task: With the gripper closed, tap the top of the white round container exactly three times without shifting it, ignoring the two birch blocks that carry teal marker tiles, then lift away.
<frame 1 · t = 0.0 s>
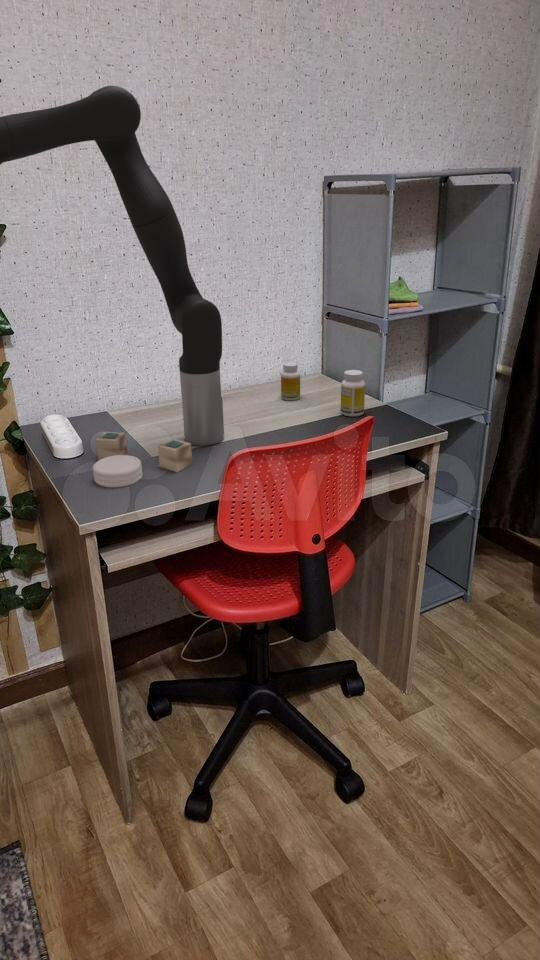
supplement bottle: (290, 398, 189), on the table
white round container: (118, 479, 142), on the table
pill bottle: (352, 413, 176), on the table
marked block b: (176, 466, 147), on the table
marked block a: (113, 456, 152), on the table
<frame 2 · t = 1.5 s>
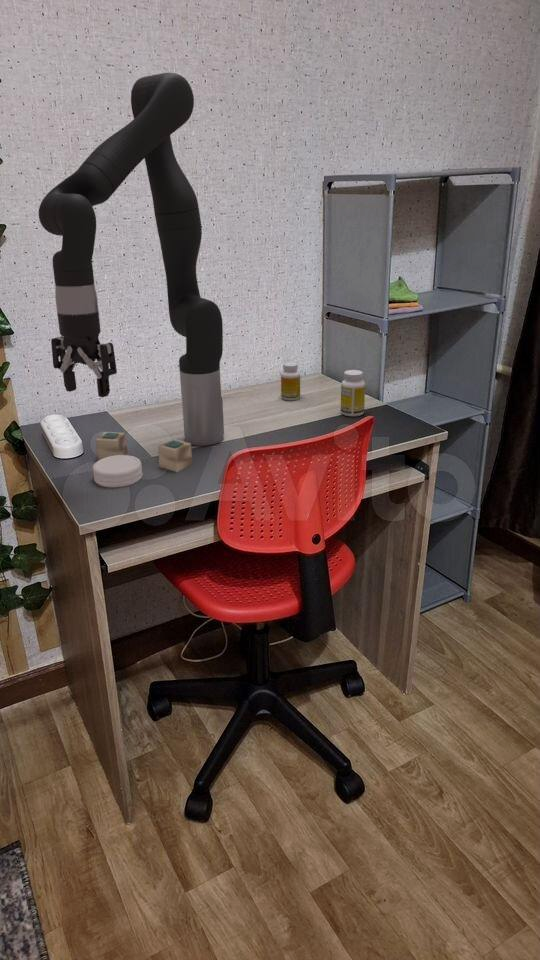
hand: (87, 393, 132), 19 cm above the table, tool pointing down, fingers open, 8 cm apart
nothing on the table moved.
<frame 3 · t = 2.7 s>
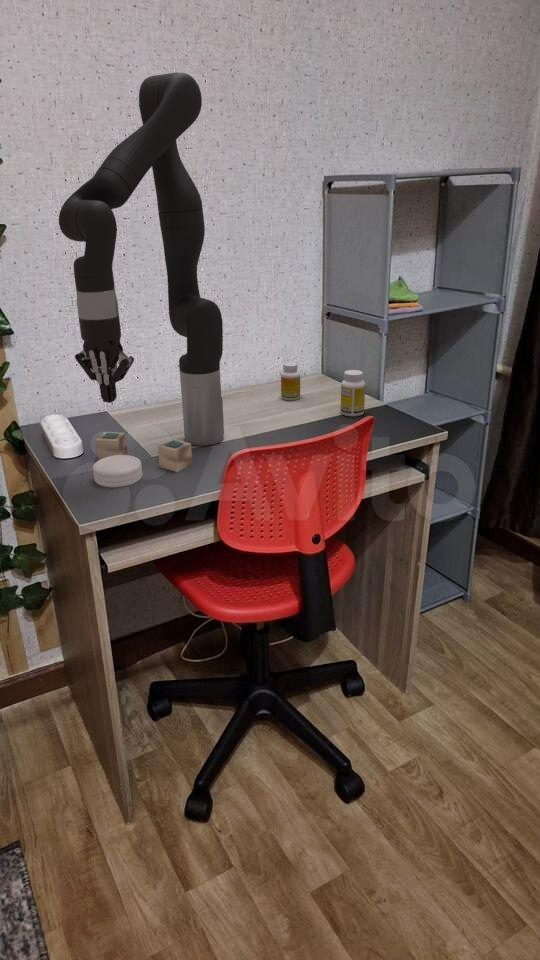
hand: (109, 401, 135), 17 cm above the table, tool pointing down, fingers closed
nothing on the table moved.
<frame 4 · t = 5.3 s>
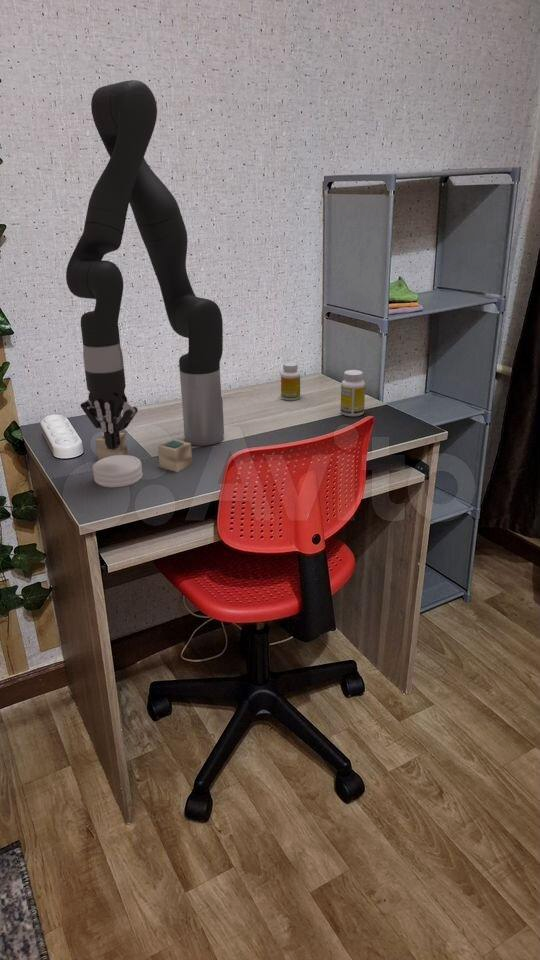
hand: (113, 448, 139), 7 cm above the table, tool pointing down, fingers closed
nothing on the table moved.
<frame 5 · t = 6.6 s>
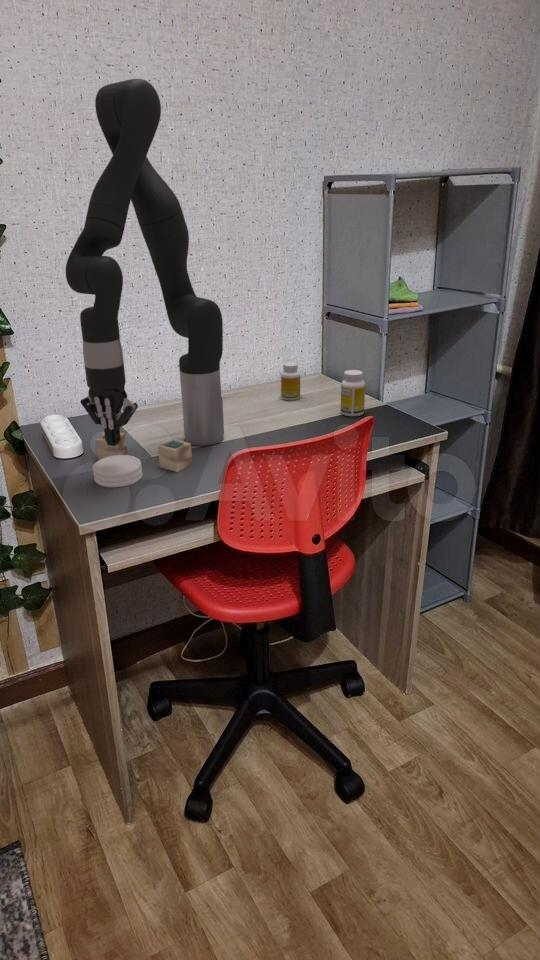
hand: (113, 444, 139), 7 cm above the table, tool pointing down, fingers closed
nothing on the table moved.
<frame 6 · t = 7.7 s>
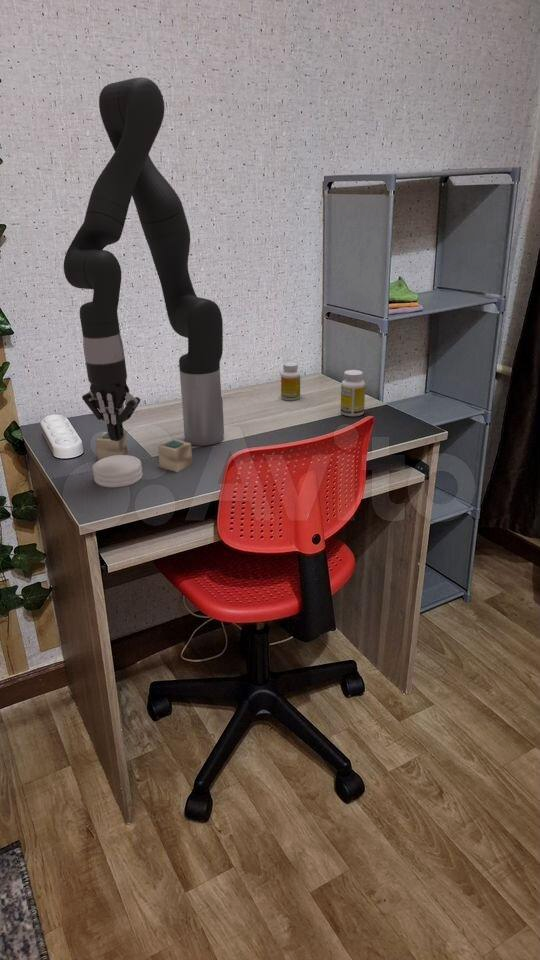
hand: (116, 439, 138), 9 cm above the table, tool pointing down, fingers closed
nothing on the table moved.
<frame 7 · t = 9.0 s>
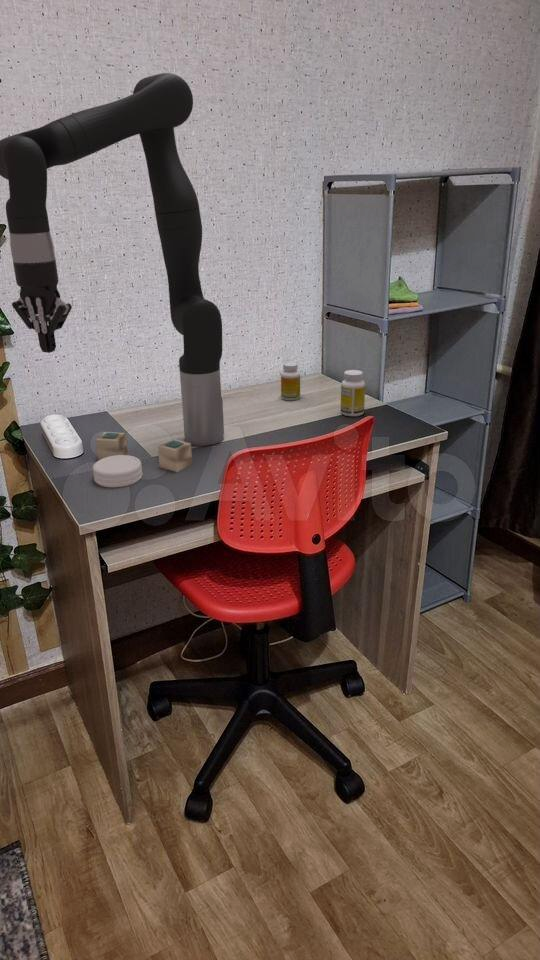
hand: (48, 351, 131), 27 cm above the table, tool pointing down, fingers closed
nothing on the table moved.
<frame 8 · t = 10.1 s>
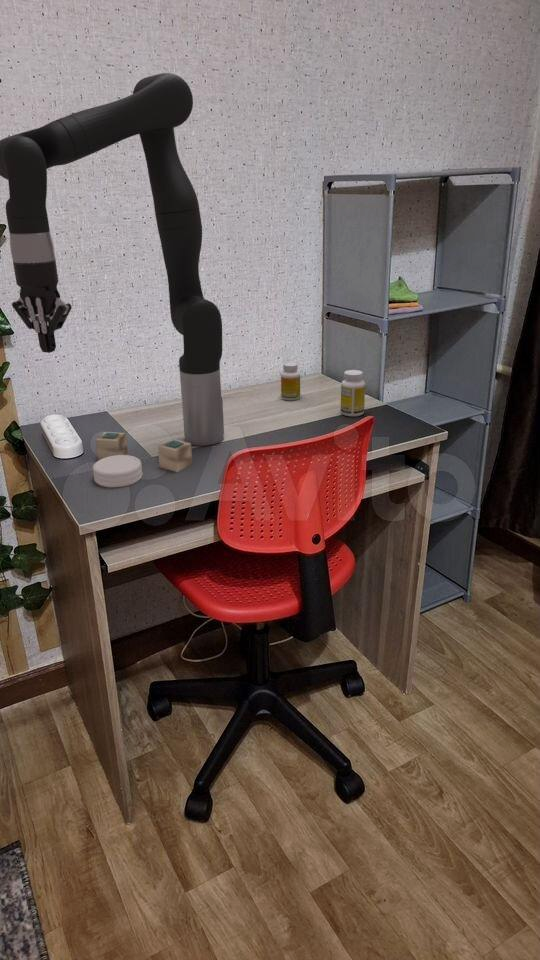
hand: (48, 351, 131), 27 cm above the table, tool pointing down, fingers closed
nothing on the table moved.
at the end: white round container moved 0.5 cm from its start; white round container tilted 0°; the gripper is holding nothing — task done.
